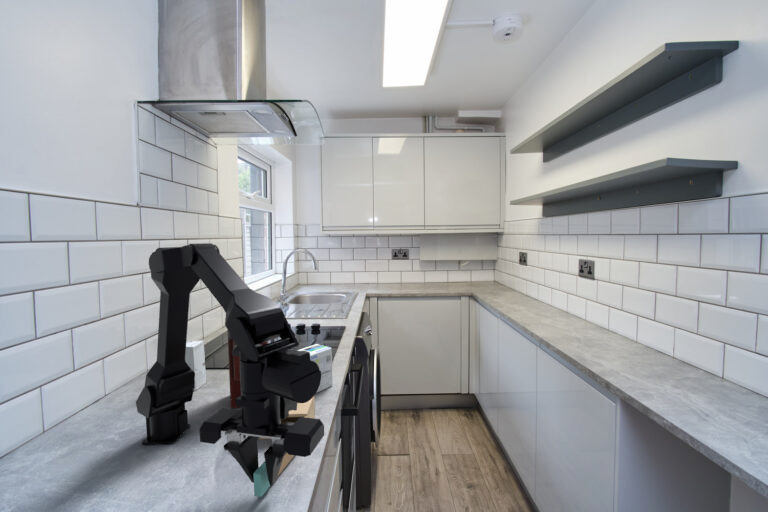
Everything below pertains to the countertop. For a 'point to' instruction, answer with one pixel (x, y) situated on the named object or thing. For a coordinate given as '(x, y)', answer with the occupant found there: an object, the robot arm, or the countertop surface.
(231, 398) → the toy vending machine
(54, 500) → the countertop surface
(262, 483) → the carton flap
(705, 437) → the countertop surface
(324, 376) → the light bulb box
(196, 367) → the skincare box
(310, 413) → the kraft carton
